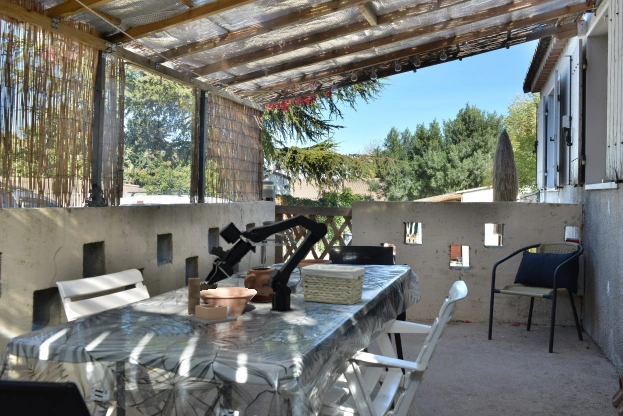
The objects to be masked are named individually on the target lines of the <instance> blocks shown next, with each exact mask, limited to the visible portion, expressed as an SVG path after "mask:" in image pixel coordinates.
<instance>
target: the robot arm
mask: <svg viewBox="0 0 623 416" xmlns="http://www.w3.org/2000/svg"><path fill="white" fill-rule="evenodd" d="M298 226H299V227H301V228H304V229H305V230H307V231H306V234H305V236H304V238H303V240H301V242H300V244H299V245H298V246H297V247H296V249H295V250H294V251H293V253H292V254H291V255H290V257H288V259H287V260H286V262H285V263H284V264H283V265H282V266H281V267H280V268H277V267H275V268H273V269H274V271H273V272H272V274H271V275H269V279H268V285H269V287H270V288H271V289H273V292H274V294H273V297H272V301H271V308H270V311H274V312H275V311H276V312H283V313H285V312H288V311H292V310H293V309H294V308H292V307H291V294H292V291H293V290H292V289H291V288H290V287H289V286H288V283H289V281H290V278H291V276H292V273H293V272H294V271H295V269H296V268H298V266H299V264H300V263H301V262H302V260H303V259H304V258H305V256H307V254H308V253H309V251H310V250H311V249H312V247H313V246H314V245H316V244H317V243H318V242H320V241H321V240H322V239H323V238H325V236H327V234H328V232H329V229H328V226H327V224H326V223H324V222H322V221H321V222H320V221H315V220H313V219H311V218H309V217H307V216H305V215H303V214H296V215H294V216H292V217H289V218H286V219H283V220H280V221H278V222H277V221H276V222H273V223H270V224H269V225H260V226H254V227H249V228H248V229H247V230H242V231H241V230H240V229H239V228H238V227H237V226H236V224H235V223H234V222H232V221H230V222H229V223H228V224H227V225H226V226H223V227H222V228H221V230H219V231H218V235H219V237H221V238H222V240H223V241H225V242H226V243H227V244H228V245H230V244H231V245H233V246H232V247H231V248H230V249H226V250H223V249H224V247H223V246H221V245H217V246H215V245H211V246H210V249H209V250H208V254H210V255H212V256H216V257H215V258H213V260H212V262H211V264H212V265H211V269H210V271H209V273H208V274H207V276H206V278H204V281H205V283H206V284H208V285H212V284H214V285H215V283H216V284H217V283H218V282H222V281H223V280H227V279H229V278H231V277H232V276H233V275H234V274H235V270H234V267H235V266H237V264H238V263H239V264H240V263H241V262H242V260H243V258H244V257H245V256H246V255H248V253H249V252H250V251H251V252H252V253H253V254H255V253H257V251H256V250H257V246H256V245H253V244H260V243H261V242H263V241H264V240H266V239H268V238H270V237H271V236H273V235H275V234H279V233H281V232H284V231H287V230H289V229H293V228H296V227H298ZM243 238H244V239H247V240H244V239H243ZM252 243H253V244H252Z"/></svg>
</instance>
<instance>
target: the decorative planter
mask: <svg viewBox="0 0 623 416" xmlns="http://www.w3.org/2000/svg"><path fill="white" fill-rule="evenodd" d="M274 269H275V268H272V267H254V268H253V267H252V268H249V270H248V273H247V274H246V275H247V276H246V277H245V280H244V286H245V288H248V289H255V290H256V291H257V294H256V295H255V296H254V297H253V298H252V299H251V300H250V299H249V301H250V302H253V303H266V302H267V303H268V302H272V297H273V294H275V293H274V292H273V289H271V288H270V287H269V285H268V279H269V275H271V274H272V272H273V271H274Z"/></svg>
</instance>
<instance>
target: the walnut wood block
mask: <svg viewBox="0 0 623 416" xmlns="http://www.w3.org/2000/svg"><path fill="white" fill-rule="evenodd" d="M187 279H188V284H187V287H188V289H187V290H188V291H187V294H188V295H187V296H188V297H187V314H188V316H192V315H191V314H195V306H197V305H201V294H200V284H201V278H200V277H188V278H187Z"/></svg>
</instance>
